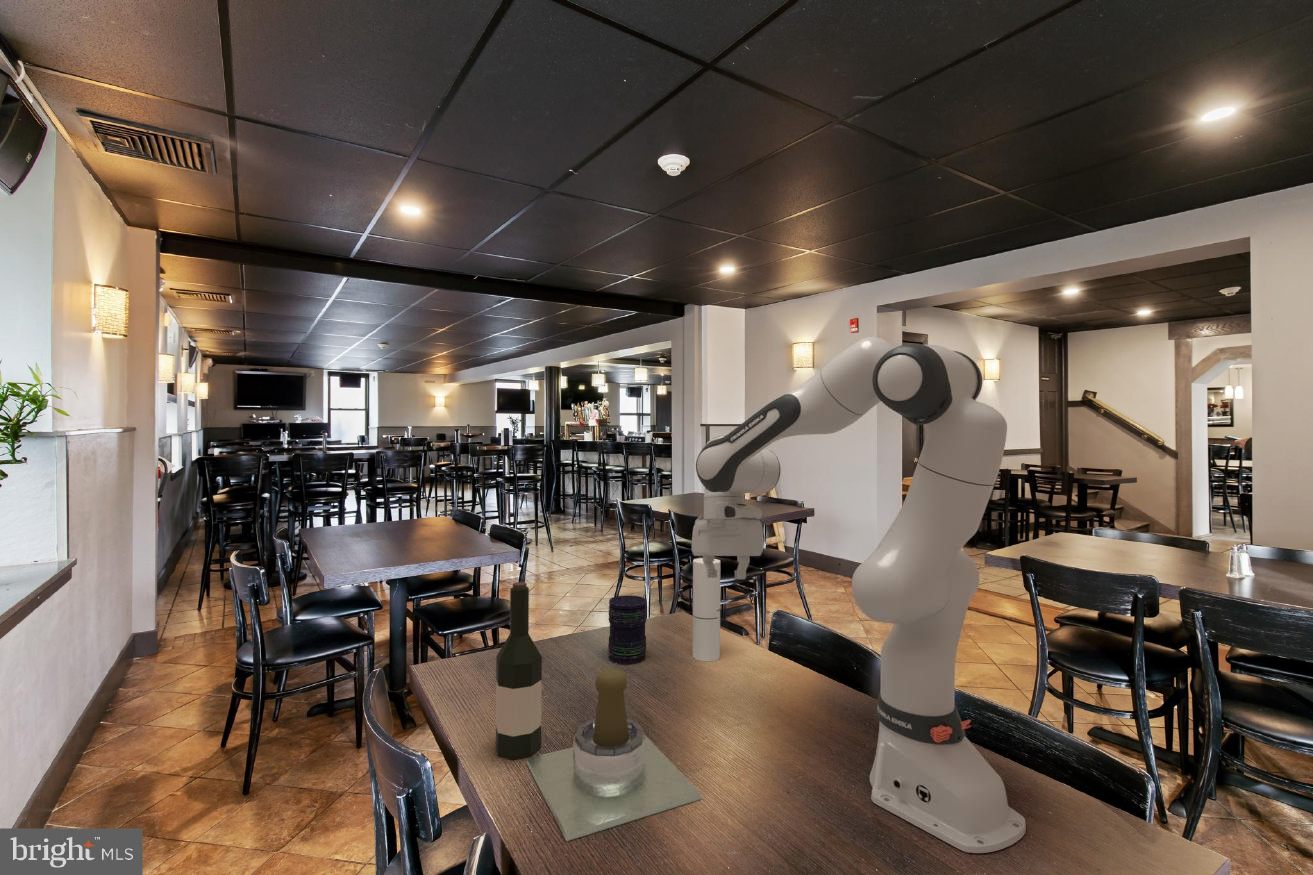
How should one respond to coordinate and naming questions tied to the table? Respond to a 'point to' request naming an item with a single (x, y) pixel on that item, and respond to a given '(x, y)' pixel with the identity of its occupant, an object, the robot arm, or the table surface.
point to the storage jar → (627, 629)
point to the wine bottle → (518, 684)
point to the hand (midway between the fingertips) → (725, 578)
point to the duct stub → (608, 782)
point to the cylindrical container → (706, 612)
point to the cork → (611, 709)
